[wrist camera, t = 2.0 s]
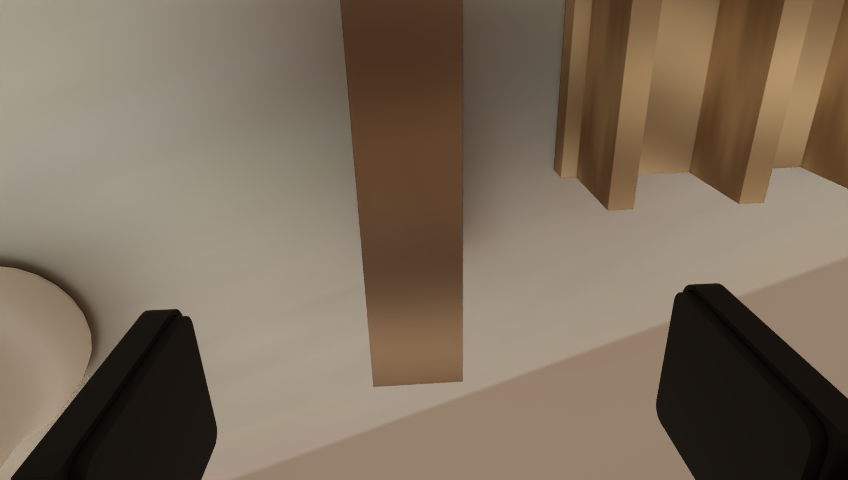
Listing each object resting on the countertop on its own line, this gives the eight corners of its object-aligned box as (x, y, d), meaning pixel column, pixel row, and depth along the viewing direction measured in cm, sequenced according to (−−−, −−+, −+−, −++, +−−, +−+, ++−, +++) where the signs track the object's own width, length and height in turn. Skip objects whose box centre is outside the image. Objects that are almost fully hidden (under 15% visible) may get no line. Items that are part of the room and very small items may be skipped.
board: (359, -11, 23) (339, -5, 14) (433, -13, 23) (462, -9, 14) (378, 253, 28) (373, 386, 19) (439, 250, 28) (462, 381, 19)
